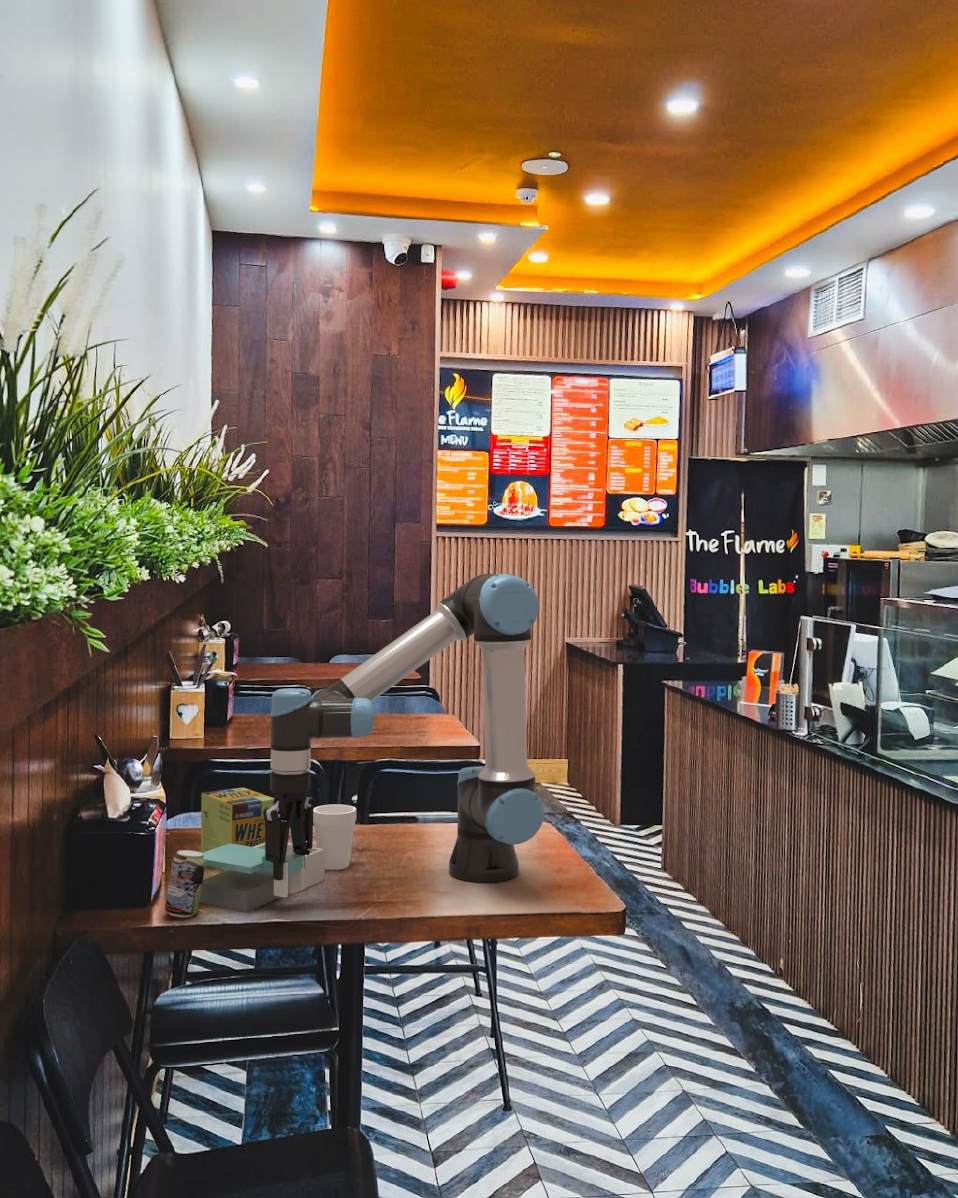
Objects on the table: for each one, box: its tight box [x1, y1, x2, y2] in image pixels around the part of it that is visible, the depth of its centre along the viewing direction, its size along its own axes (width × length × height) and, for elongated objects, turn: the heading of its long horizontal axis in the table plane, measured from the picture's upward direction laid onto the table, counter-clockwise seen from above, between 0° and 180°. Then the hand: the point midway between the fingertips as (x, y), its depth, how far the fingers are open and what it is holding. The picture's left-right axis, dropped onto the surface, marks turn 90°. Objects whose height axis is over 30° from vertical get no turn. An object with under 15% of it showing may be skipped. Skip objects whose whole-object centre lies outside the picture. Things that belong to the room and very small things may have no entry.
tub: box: [254, 843, 325, 895], centre depth 218 cm, size 14×11×7 cm
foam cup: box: [313, 804, 357, 871], centre depth 230 cm, size 10×9×13 cm
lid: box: [203, 843, 303, 874], centre depth 205 cm, size 21×12×3 cm, turn 63°
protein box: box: [200, 787, 274, 872], centre depth 232 cm, size 10×15×16 cm
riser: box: [199, 870, 280, 913], centre depth 207 cm, size 12×11×4 cm
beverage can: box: [164, 849, 206, 918], centre depth 198 cm, size 6×7×12 cm
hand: (288, 892), depth 201 cm, fingers closed on lid, 4 cm apart
